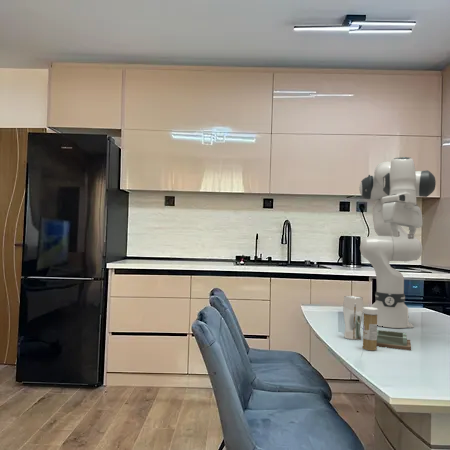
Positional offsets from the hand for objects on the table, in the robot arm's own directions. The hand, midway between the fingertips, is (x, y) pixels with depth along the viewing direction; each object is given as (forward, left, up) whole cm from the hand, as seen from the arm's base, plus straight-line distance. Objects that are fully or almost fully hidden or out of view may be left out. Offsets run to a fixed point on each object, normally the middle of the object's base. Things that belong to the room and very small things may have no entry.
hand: (403, 237), depth 152 cm
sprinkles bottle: (+18, -10, -37) cm, 43 cm away
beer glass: (+3, -17, -37) cm, 41 cm away
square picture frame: (+6, -4, -37) cm, 38 cm away
